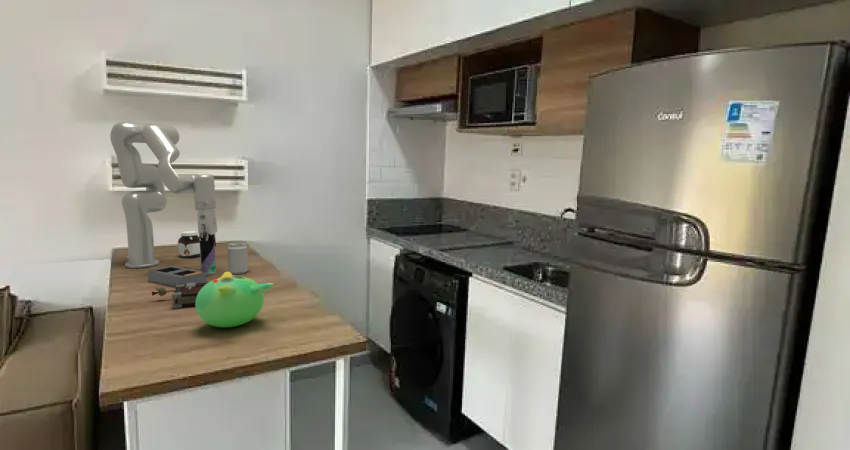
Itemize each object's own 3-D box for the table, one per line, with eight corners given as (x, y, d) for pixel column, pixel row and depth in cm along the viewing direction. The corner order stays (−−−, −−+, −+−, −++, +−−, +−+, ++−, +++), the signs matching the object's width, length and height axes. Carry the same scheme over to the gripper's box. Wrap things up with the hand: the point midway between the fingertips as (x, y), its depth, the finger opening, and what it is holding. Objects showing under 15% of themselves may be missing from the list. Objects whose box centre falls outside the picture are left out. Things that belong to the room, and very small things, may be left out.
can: (251, 270, 203) (250, 241, 201) (243, 274, 195) (241, 245, 194) (234, 270, 204) (232, 241, 202) (224, 274, 196) (223, 244, 195)
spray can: (205, 275, 194) (203, 225, 191) (198, 273, 197) (195, 223, 194) (218, 272, 198) (216, 223, 196) (211, 270, 202) (209, 222, 199)
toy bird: (245, 311, 150) (243, 264, 148) (278, 323, 140) (276, 273, 138) (186, 326, 136) (183, 275, 134) (217, 341, 126) (214, 285, 124)
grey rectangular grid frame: (148, 281, 184) (147, 270, 184) (173, 275, 193) (172, 265, 192) (182, 288, 175) (181, 276, 174) (207, 282, 183) (206, 271, 183)
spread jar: (175, 257, 227) (174, 232, 225) (193, 253, 238) (192, 229, 236) (197, 259, 223) (195, 234, 222) (214, 254, 234) (213, 230, 232)
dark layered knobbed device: (235, 304, 158) (234, 289, 158) (147, 312, 149) (145, 296, 149) (235, 292, 172) (234, 278, 171) (154, 299, 163) (153, 284, 162)
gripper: (209, 207, 186) (212, 252, 188) (220, 203, 203) (223, 244, 205) (188, 208, 185) (191, 253, 187) (201, 204, 202) (204, 245, 204)
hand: (208, 248), depth 196 cm, fingers open, 9 cm apart
